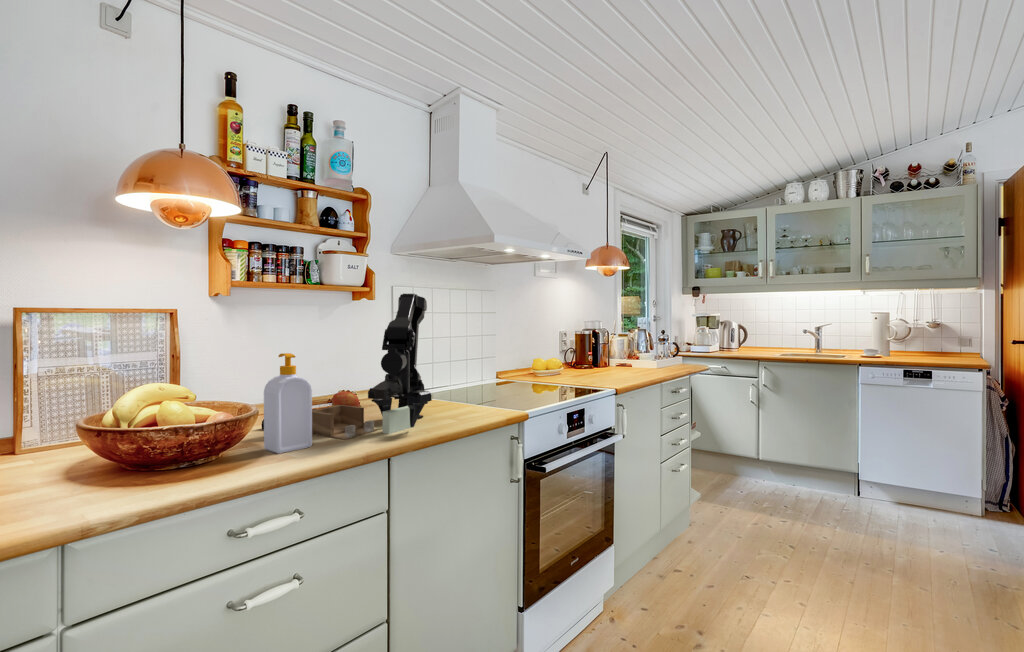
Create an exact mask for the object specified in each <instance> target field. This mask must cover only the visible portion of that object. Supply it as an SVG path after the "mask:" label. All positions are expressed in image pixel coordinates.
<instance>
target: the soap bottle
mask: <svg viewBox="0 0 1024 652" xmlns="http://www.w3.org/2000/svg"><path fill="white" fill-rule="evenodd" d="M283 357H284V365H279V375H277V376H274V377H273V378H271V379H270V380H268V382H267V383H266V384H265V385H264V389H263V419H264V429H263V448H264V450H266V451H270V452H271V453H275V454H279V455H280V454H284V453H289V452H293V451H299V450H302V449H304V450H305V449H307V448H308V447H309V448H311V447H312V446H313V434H312V409H313V389H312V385H311V383H310V382H309V381H308V380H307V379H305V378H303V377H300V376H298V375H297V366H296V365H294V364H293V365H292V359H293V358H296V355H295V354H293V353H292V352H291V353H290V352H289V353H288V352H287V353H280V354H278V358H283Z"/></svg>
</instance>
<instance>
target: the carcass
mask: <svg viewBox="0 0 1024 652" xmlns="http://www.w3.org/2000/svg"><path fill="white" fill-rule="evenodd" d="M316 409H317V410H312V435H313V436H314V435H316V436H321V437H327V438H333V439H339V440H345V441H346V440H349V439H351V438H355V437H358V436H362V435H363V436H364V435H366V434H370V433H374V432H377V431H378V428H377V429H376V428H375V421H374V420H371V419H370V420H367V421H365V408H364V407H362V406H359V407H355V406H347V405H337V406H332V405H331V406H328V407H323V408H316Z"/></svg>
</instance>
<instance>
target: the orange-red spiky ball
mask: <svg viewBox="0 0 1024 652" xmlns="http://www.w3.org/2000/svg"><path fill="white" fill-rule="evenodd" d="M337 405H347V406H355V407H360V399H359V397H358V396H357V395H356V393H353V392H350V391H339V392H338V391H337V392H336V393H335V394H333V396H332V401H331V407H332V406H337Z"/></svg>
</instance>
